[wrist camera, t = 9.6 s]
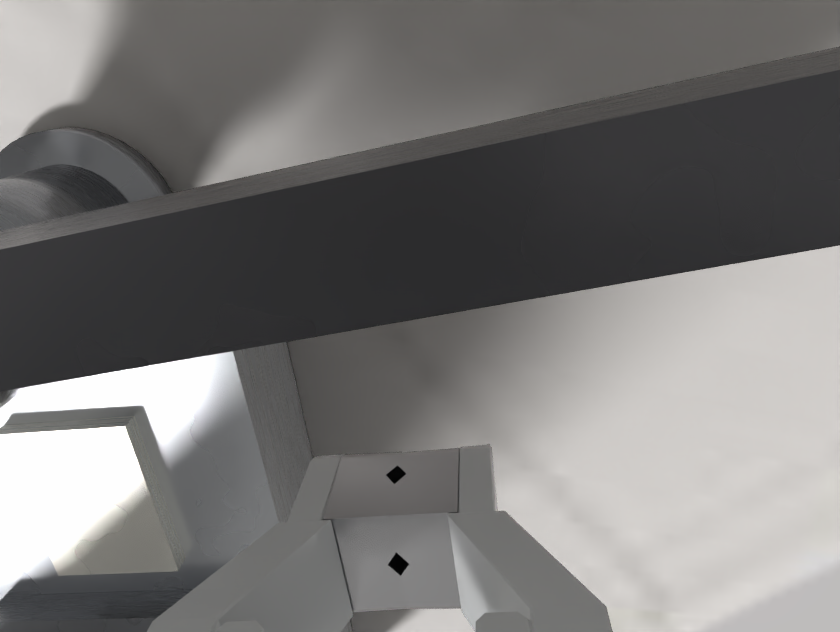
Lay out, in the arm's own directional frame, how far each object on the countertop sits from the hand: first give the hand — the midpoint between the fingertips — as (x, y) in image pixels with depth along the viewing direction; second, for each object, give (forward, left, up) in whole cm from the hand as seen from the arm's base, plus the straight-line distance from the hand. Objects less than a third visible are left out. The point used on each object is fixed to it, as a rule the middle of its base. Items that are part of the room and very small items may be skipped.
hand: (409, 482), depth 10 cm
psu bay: (+5, -8, -5) cm, 10 cm away
